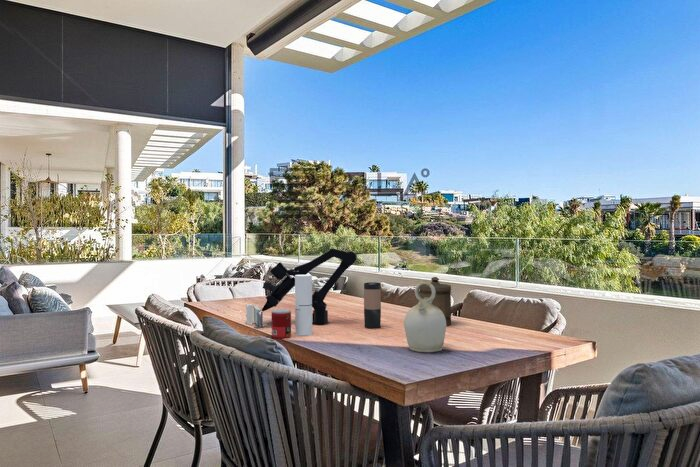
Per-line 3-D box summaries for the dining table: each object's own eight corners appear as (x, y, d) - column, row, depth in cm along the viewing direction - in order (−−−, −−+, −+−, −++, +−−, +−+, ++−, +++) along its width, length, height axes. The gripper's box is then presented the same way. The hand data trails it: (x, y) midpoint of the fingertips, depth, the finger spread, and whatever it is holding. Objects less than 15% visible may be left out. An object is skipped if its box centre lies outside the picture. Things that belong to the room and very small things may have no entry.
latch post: (253, 323, 241) (253, 304, 241) (247, 324, 240) (247, 305, 240) (249, 321, 247) (249, 303, 247) (244, 322, 246) (244, 303, 246)
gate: (260, 325, 234) (260, 309, 233) (257, 325, 233) (257, 309, 233) (256, 320, 244) (256, 305, 244) (253, 321, 244) (253, 306, 244)
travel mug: (381, 325, 234) (381, 282, 234) (380, 329, 226) (380, 284, 226) (364, 325, 235) (364, 282, 234) (363, 328, 227) (363, 284, 227)
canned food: (289, 339, 207) (289, 312, 207) (270, 339, 207) (270, 312, 207) (292, 335, 214) (292, 309, 214) (273, 335, 215) (273, 309, 215)
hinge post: (266, 327, 232) (266, 311, 232) (260, 328, 229) (260, 313, 229) (259, 326, 234) (259, 311, 234) (253, 328, 231) (253, 312, 231)
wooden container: (457, 324, 238) (457, 276, 238) (438, 328, 227) (438, 279, 227) (431, 320, 248) (431, 275, 248) (412, 324, 238) (412, 277, 238)
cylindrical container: (309, 336, 212) (309, 276, 212) (293, 335, 213) (292, 276, 213) (314, 332, 219) (313, 274, 219) (298, 332, 220) (297, 274, 220)
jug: (418, 342, 199) (417, 278, 199) (454, 348, 189) (453, 280, 189) (396, 349, 187) (395, 281, 187) (433, 356, 177) (432, 284, 177)
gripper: (275, 273, 250) (253, 296, 250) (269, 276, 231) (246, 301, 231) (291, 289, 250) (269, 312, 250) (287, 293, 231) (263, 318, 231)
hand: (262, 310), depth 240 cm, fingers closed
